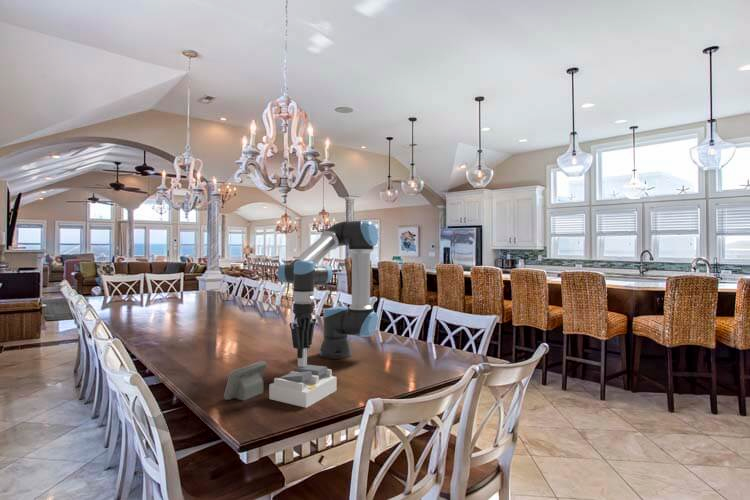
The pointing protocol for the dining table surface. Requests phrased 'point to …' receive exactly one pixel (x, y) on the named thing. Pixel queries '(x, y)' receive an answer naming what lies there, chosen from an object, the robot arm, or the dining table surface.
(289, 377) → the rocker
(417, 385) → the dining table surface
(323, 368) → the rocker
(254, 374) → the digital clock
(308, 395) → the switch unit
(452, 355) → the dining table surface
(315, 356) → the dining table surface
